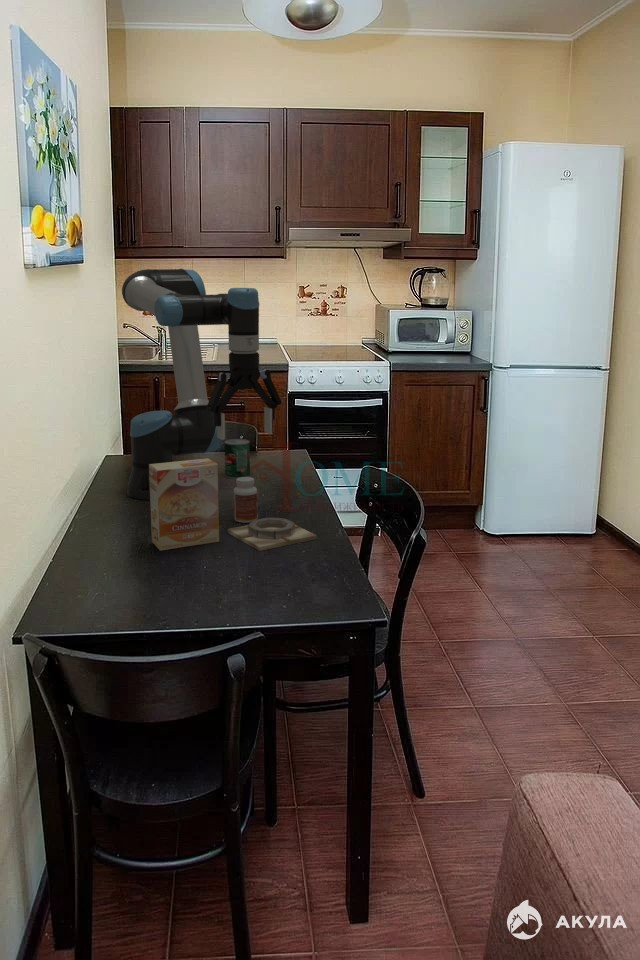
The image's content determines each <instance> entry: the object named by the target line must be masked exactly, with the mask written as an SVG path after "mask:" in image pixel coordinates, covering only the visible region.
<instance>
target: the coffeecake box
mask: <svg viewBox="0 0 640 960" xmlns="http://www.w3.org/2000/svg"><path fill="white" fill-rule="evenodd" d="M218 466H219V464H218V463H217V462H216V461H213V460H211V459H210V458H198V459H197V458H196V459H187V460H180V461H179V460H178V461H177V460H175V461H173V462H167V463H157V464H149V480H150V500H149V501H150V505H149V506H150V520H151V521H150V523H151V525H150V526H151V527H150V528H151V529H150V530H151V543H152V544H153V545H154V546H155V547H156V548H157V549H158V550H159V551H168V550H173V549H179V548H186V547H193V546H198V545H205V544H212V543H219V542H220V518H219V515H220V514H219V513H220V512H219V467H218Z"/></svg>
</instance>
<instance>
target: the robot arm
mask: <svg viewBox="0 0 640 960" xmlns="http://www.w3.org/2000/svg"><path fill="white" fill-rule="evenodd" d="M121 296H122V298H123V300H124V302H125V304H126V305H127V306H128V307H130V308H131V309H134V310H135V311H138V312H148V313H150V314H152V315H154V317H155V319H156V321H157V322H156V323H157V324H158V325H159V326H161V327H167V329H168V337H169V342H170V351H171V359H172V366H173V374H174V380H175V387H176V394H177V395H176V397H177V402H178V403H177V405H176V407H174V409H173V412H174V414H172V412H171V411H169V410H165V409H164V410H161V409H160V410H151V411H146V412H143V413H140V414H137V415H136V416H134V417H132V419H131V420H130V428H129V429H130V430H129V431H130V432H129V436H130V448H131V449H130V450H131V462H132V463H131V465H132V466H131V467H132V468H131V472H130V474H129V475H130V476H129V479H128V483H127V487H126V488H127V489H126V490H127V496H128V497H130V498H133V499H136V500H147V501H150V480H149V464H157V463H167V462H174V456H183V455H194V454H205V453H209V452H215V451H216V450H218V449H219V448H220V446H221V445H222V442H223V441H225V440H226V428H225V427H226V421H225V420H226V419H225V418H226V417H225V416H226V415H225V413H224V412H223V411H224V409H225V408H226V407H227V405H228V404H229V402H230V401H231V400H232V398H233V396H234V395H235V394H236V393H237V392H238V391H239V390H240V391H244V390H254V391H255V392H256V394H257V395H258V396H259V398H260V399H261V400H262V401H263V403H264V404H265V407H263V412H264V413H263V415H264V416H263V423H264V425H263V427H264V430H263V431H264V433H266V434H268V435H271V434H273V421H274V420H275V417H276V416H275V415H276V414H275V413H276V412H275V411H276V410H275V409H277V407H278V406H281V405H282V404H283V403H282V399H281V398H280V395H279V393H278V391H277V389H276V386H275V384H274V382H273V380H272V375H271V370H269V369H265V368H262V369H261V370H260V369H259V367H260V353H259V352H258V351H259V350H260V333H259V332H260V301H259V292H258V289H256V288H254V287H232V288H231V287H230V288H229V289H228V291H227V293H225V292H224V293H216V294H207V291H206V286H205V284H204V281H203V279H202V277H201V275H200V274H199V272H197V271H195V270H194V269H184V268H177V269H175V268H171V269H169V268H168V269H166V268H165V269H163V268H161V269H159V268H157V269H156V268H155V269H150V268H149V269H141V270H137V271H135V272H133V273H131V274H130V275H128V277H127V278H126V279H125V280H124V282H123V284H122V286H121ZM219 325H220V326H221V325H222V326H223V325H227V326H228V333H227V335H228V351H230V352H229V353H228V367H229V371H228V373H224V372H220V371H219V372H218V373H217V378H216V384H215V385H214V388H213V391H212V392H211V395H210V398H209V399H208V394H207V386H206V385H207V384H206V377H205V372H204V371H205V369H204V364H203V363H204V362H203V358H202V357H203V353H202V347H201V342H200V340H201V339H200V334H199V326H219ZM260 378H261V379H262V382H263V383H264V386H265V388H266V390H267V392H266V391H265V389H264V387H262V385H261V384H260V382H259V379H260ZM228 381H230V382H229V383H228V385H227V386H226V383H227V382H228ZM225 387H226V389H225ZM224 390H225V391H224ZM223 391H224V392H223Z"/></svg>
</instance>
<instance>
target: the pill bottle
mask: <svg viewBox="0 0 640 960" xmlns="http://www.w3.org/2000/svg"><path fill="white" fill-rule="evenodd" d="M235 485H236V486H235V487H234V488H233V492H232V493H233V494H232V495H233V519H234V520H235V522H238V523H241V524H242V523H243V524H250V523H251V522H252V521H254V520H257V519H259V515H258V514H259V513H258V512H259V511H258V509H259V508H258V489H257V487H256V486H254V485H255V478H254V477H251V476H250V477H240V478H237V479H235Z"/></svg>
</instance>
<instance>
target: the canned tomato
mask: <svg viewBox="0 0 640 960" xmlns="http://www.w3.org/2000/svg"><path fill="white" fill-rule="evenodd" d="M223 443H224V444H223V445H224V472H225V473H224V475H225V476H224V477H226V478H228V479H231V480H236V479H237V478H240V477H251V451H250V450H251V449H250V447H251V446H250V443H251V442H250V440H248V439H244V438H232V439H225V440H223Z"/></svg>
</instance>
